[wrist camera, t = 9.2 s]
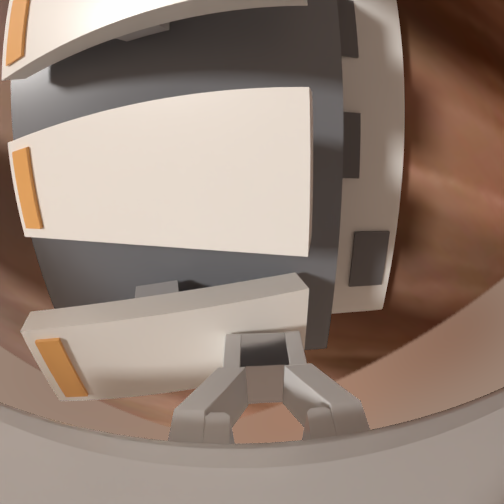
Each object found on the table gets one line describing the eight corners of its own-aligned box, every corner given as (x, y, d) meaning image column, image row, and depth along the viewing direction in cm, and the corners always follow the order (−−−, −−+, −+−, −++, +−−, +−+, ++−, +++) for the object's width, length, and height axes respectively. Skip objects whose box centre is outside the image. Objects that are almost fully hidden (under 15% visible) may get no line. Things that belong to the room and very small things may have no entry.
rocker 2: (314, 96, 7) (308, 86, 5) (313, 221, 9) (307, 259, 7) (52, 132, 10) (4, 143, 7) (65, 215, 11) (22, 238, 9)
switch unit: (386, -12, 10) (429, -45, 6) (377, 300, 18) (406, 352, 14) (38, 25, 11) (-14, 13, 6) (77, 306, 18) (44, 352, 14)
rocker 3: (283, 258, 12) (311, 290, 10) (282, 330, 14) (304, 367, 11) (39, 295, 10) (19, 333, 8) (69, 362, 11) (59, 403, 9)
